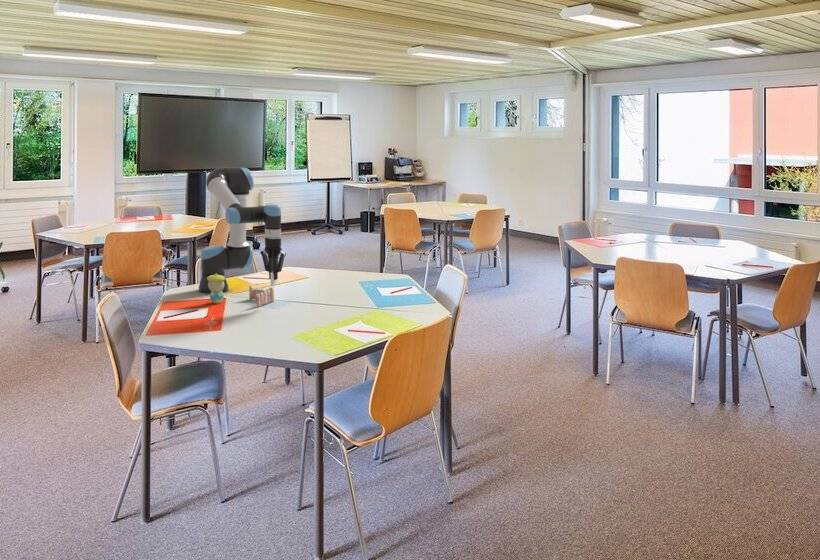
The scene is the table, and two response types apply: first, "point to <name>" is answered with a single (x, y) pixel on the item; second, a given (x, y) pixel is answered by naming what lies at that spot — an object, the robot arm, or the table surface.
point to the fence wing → (263, 298)
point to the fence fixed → (256, 291)
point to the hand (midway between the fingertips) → (273, 285)
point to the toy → (216, 287)
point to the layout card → (269, 304)
